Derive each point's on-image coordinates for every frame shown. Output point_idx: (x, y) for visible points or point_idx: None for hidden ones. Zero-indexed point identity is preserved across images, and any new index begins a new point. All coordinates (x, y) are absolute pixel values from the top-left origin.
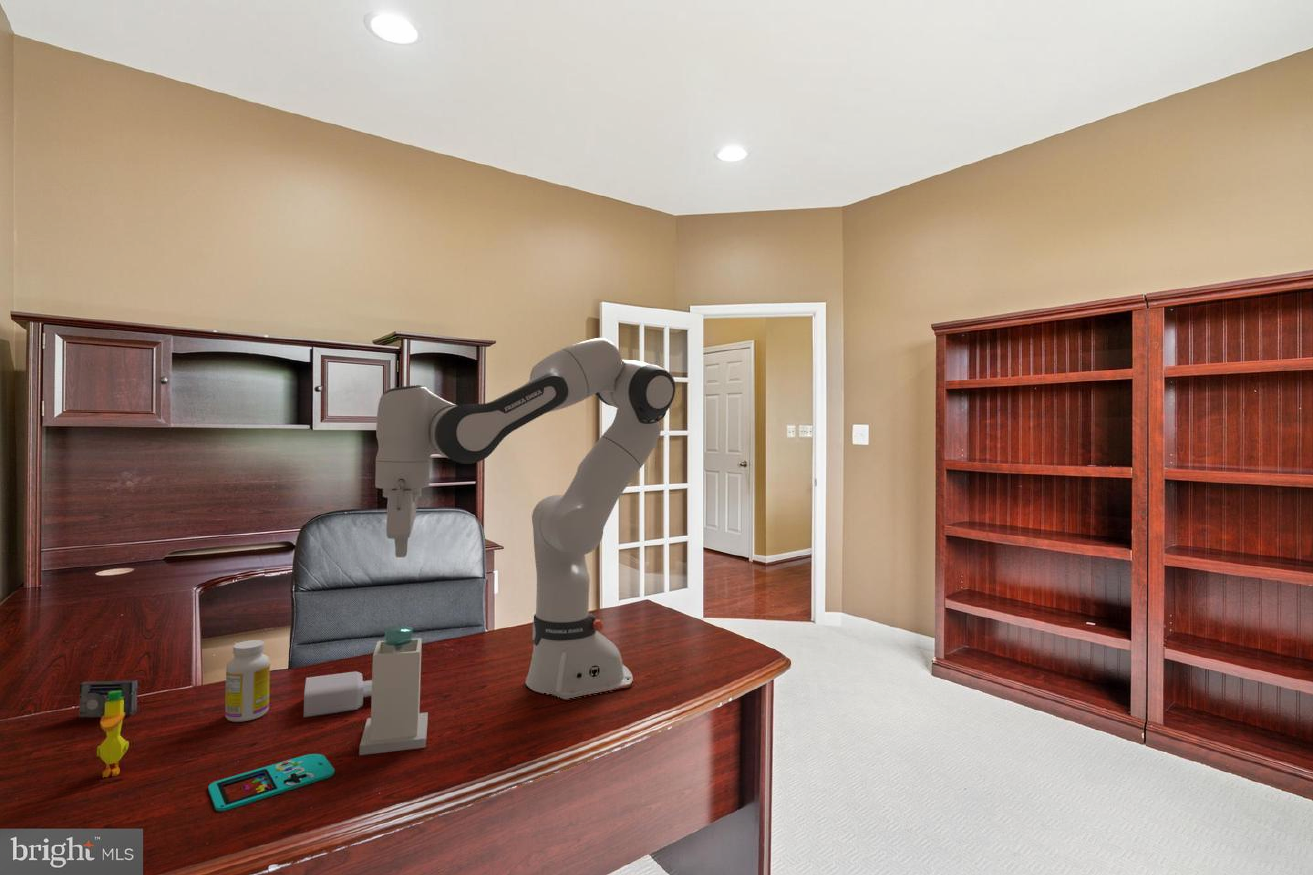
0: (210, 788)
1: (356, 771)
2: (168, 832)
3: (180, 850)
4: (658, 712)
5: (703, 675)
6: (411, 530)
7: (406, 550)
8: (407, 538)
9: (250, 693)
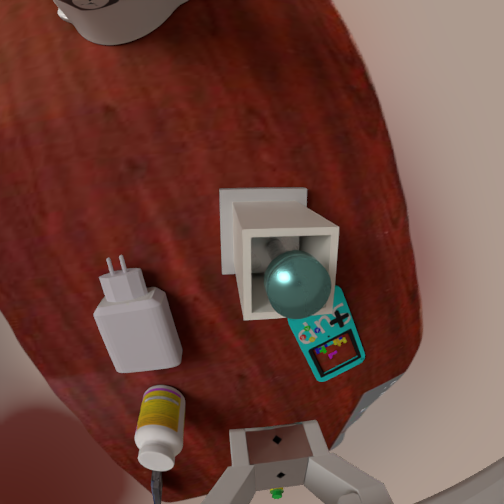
0: (328, 378)
1: (338, 262)
2: (376, 376)
3: (401, 359)
4: None
5: None
6: (500, 474)
7: (321, 438)
8: (357, 485)
9: (181, 415)
